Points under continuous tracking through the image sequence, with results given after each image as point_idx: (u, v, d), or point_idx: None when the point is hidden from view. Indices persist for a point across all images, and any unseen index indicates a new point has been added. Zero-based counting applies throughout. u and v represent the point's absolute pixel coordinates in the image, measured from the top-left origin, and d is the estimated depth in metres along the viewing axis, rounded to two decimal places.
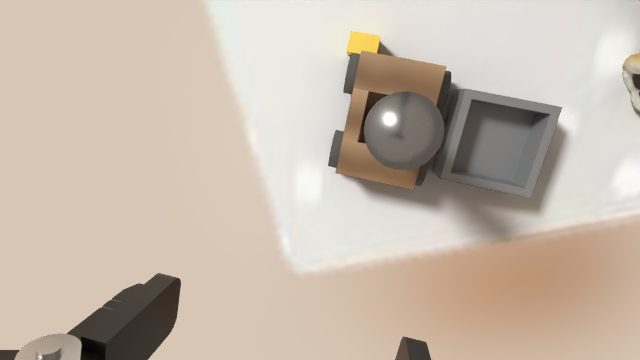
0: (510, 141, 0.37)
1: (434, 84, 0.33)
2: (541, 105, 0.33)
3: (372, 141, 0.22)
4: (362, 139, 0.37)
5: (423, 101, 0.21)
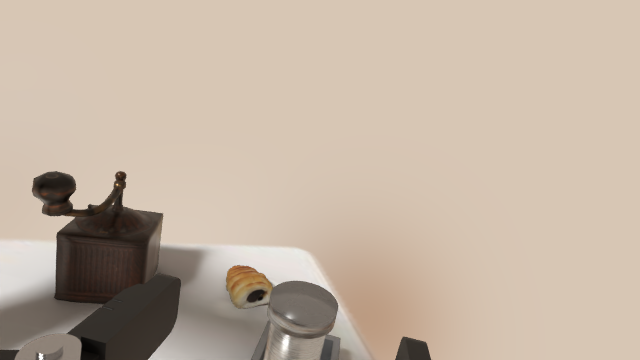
0: None
1: None
2: (266, 328, 0.41)
3: (314, 318, 0.22)
4: None
5: (279, 287, 0.25)
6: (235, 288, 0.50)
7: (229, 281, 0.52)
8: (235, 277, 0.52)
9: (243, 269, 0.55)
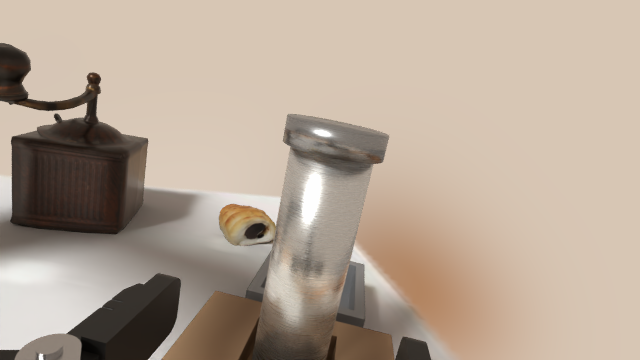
0: None
1: (237, 302, 0.23)
2: None
3: (358, 132, 0.14)
4: None
5: (299, 115, 0.17)
6: (230, 221, 0.42)
7: (223, 216, 0.44)
8: (230, 211, 0.44)
9: (239, 205, 0.46)
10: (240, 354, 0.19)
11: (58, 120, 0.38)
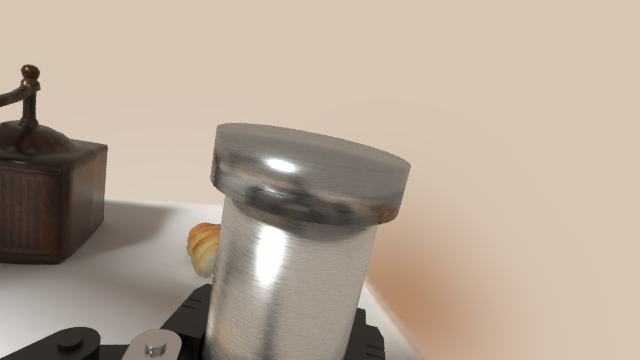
0: None
1: None
2: None
3: (350, 162, 0.07)
4: None
5: (249, 125, 0.10)
6: (198, 248, 0.34)
7: (191, 240, 0.36)
8: (199, 234, 0.36)
9: (212, 225, 0.38)
10: None
11: None
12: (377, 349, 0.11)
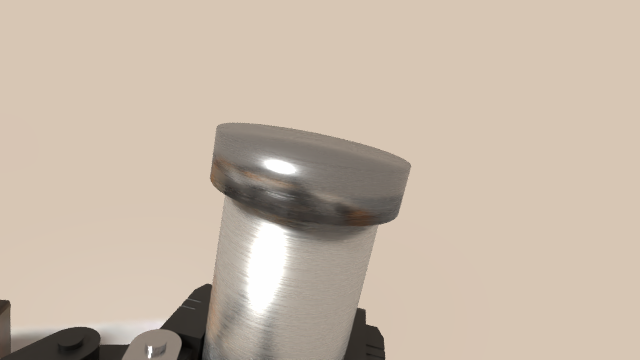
0: None
1: None
2: None
3: (350, 162, 0.07)
4: None
5: (249, 125, 0.10)
6: None
7: None
8: None
9: None
10: None
11: None
12: (377, 349, 0.11)
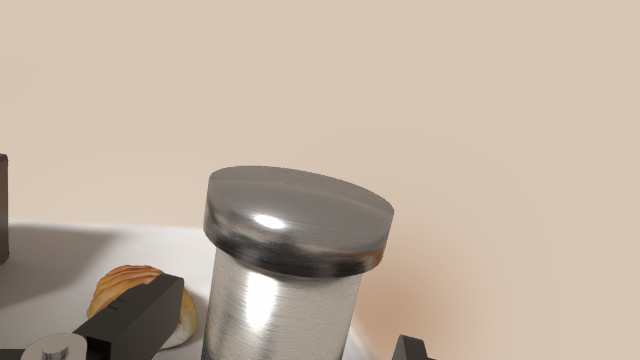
0: None
1: None
2: None
3: (334, 217, 0.07)
4: None
5: (241, 169, 0.10)
6: None
7: (93, 302, 0.24)
8: (105, 293, 0.23)
9: (132, 273, 0.26)
10: None
11: None
12: None
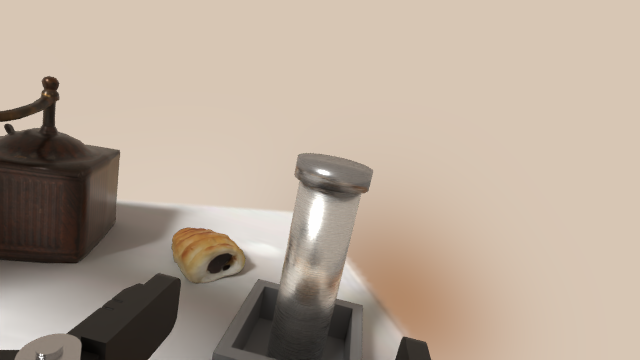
0: None
1: None
2: (253, 290, 0.28)
3: (349, 171, 0.20)
4: None
5: (306, 154, 0.23)
6: (188, 254, 0.34)
7: (177, 247, 0.36)
8: (186, 241, 0.36)
9: (196, 230, 0.38)
10: None
11: (9, 131, 0.33)
12: None
